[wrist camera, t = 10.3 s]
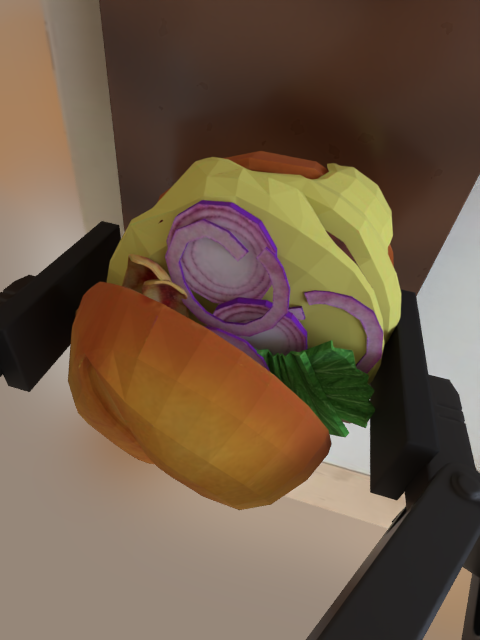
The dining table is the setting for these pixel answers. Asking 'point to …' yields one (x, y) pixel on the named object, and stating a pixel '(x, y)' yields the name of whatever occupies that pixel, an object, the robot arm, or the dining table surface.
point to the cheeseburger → (240, 324)
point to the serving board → (303, 99)
